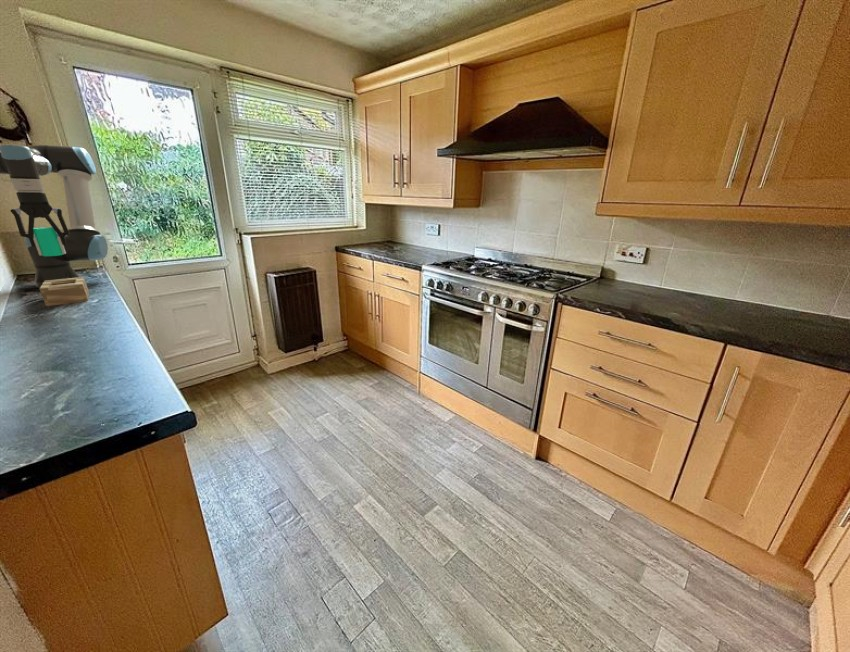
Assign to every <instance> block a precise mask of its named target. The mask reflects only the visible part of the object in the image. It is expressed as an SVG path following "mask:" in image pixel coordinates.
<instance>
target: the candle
mask: <svg viewBox="0 0 850 652" xmlns="http://www.w3.org/2000/svg"><path fill="white" fill-rule="evenodd" d="M33 232H34V236H35V237H36V239H37V242H38V245H39V247H40V250H41V253H42V256H58V255H63V253H62V250H61V247H60V244H59V241H58V239H57V237H58V236H57V234H56V233H57V232H56V231H55V230H54V229H53V227H52V226H50V227H44V225H43V224H41V226H40V227H34V228H33Z"/></svg>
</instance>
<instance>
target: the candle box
mask: <svg viewBox="0 0 850 652" xmlns="http://www.w3.org/2000/svg"><path fill="white" fill-rule="evenodd" d="M87 285H88V284H87V281H86V279H85V277H84V276H81V277H80V276H79V277H78V278H68V279H57V280H47V281H44V282H43V284H42V286H41V287H40V288H39V291H40V294H41V296H42V299H43V301H44V304H45V307H51V306H59V305H67V304H75V303H82V302H88V301H89V297H90V291H89V288H88V286H87Z"/></svg>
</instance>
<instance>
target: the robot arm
mask: <svg viewBox="0 0 850 652" xmlns="http://www.w3.org/2000/svg"><path fill="white" fill-rule="evenodd" d="M50 173H51V174H52V173H54V174H55V173H56V174H57V175H58V176H59V177H60V178H62V181H63V186H64V187H63V188H64V194H65V201H66V202H65V203H66V207H67V215H68V221H69V227H68V226H67V224H66V222H65V218H64V216H63V209H62V208H57V207H56V208H55V207H52V205H51V204H50V203H49V199H48V196H47V194H46V193H45V192H44V191H45V188H44V186H43V183H42V179H41V177H40V176H42V177H43V176H46V175H49V174H50ZM95 174H97V169H96V166H95V163H94V160H93V158H92V156H91V155H90V153H89V152H88V151H87V150H86V149H85V148H83V147H80V146H79V147H77V146H66V145H65V146H64V145H46V144H39V145H38V144H36V145H28V146H25V145H16V144H0V175H9V179H10V181H11V184H12V186H13V188H14V191H17V192H16V193H15V194H16V197H17V199H18V202H19V207H18V208H11V209H10V213H12V214H13V216H14V219H15V223H16V226H17V229H18V232H19V235H20V237H24V238H25V239H24V241H25V245H26V249H27V251H28V254H29V256H30V259H31V261H32V263H33V266H34V268H35V274H34V275H35V277H34V284H35V286H36V288H37V289H38V288H39V289H40V287H41V286H42V284H43V282H44V281H47V280H57V279H68V278H78V277H80V275H78V273H77V272H76V271H75V270H74V269H73V267H72V266H71V263H70V262H83V261H98V260H99V261H100V260H103V259H105V258H106V257H107V255H108V249H109V247H108V242H107V238H106V237H105V236H104V235H102V234H101V232H100V230H99V231H98V230H97V229H96V225H95V219H94V218H95V217H94V211H93V205H92V198H91V192H90V187H89V182H90V181H92V179H93V178H92V175H95ZM52 211H53V213H54V214H55V215H57V219H58V220H59V223H60V226H61V228H62V230H63V232H62V230H61V229H60V228H59V226H58V225H57V224H56V223H55V220H54V219H52V217H51V216H50V214H51V212H52ZM22 212H23V213H24V214H26V215H28V225H27V226H28V230H27V232H26V229H25V226H24V223H23V220H22V217H21V214H22ZM37 218H42V219H43V218H44V219H45V220H46V221H47V222H48V224H49V225H50V227H53V229H54V230H55V231H56V234H57V236H58V237H57V239H58V241H59V244H60V247H61V250H62V253H63V255H58V256H42V253H41V250H40V247H39V245H38V242H37V239H36V237H35V234H34V232H33V228H35V219H37Z"/></svg>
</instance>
